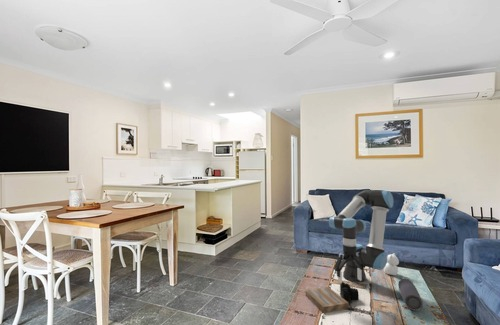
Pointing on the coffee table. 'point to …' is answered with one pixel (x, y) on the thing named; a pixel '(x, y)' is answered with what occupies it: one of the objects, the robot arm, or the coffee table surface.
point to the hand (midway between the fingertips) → (349, 281)
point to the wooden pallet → (327, 299)
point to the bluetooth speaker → (410, 294)
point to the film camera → (348, 292)
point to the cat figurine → (391, 265)
